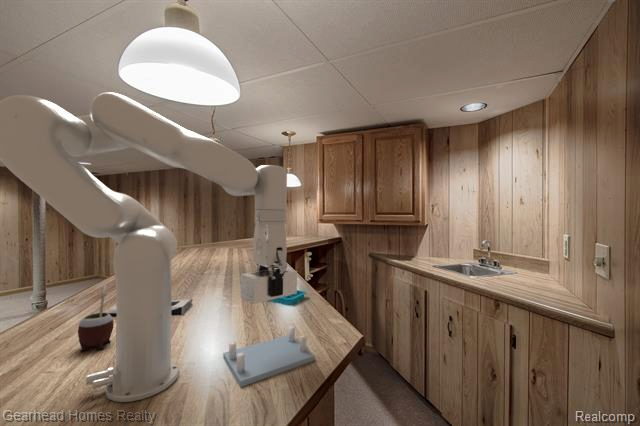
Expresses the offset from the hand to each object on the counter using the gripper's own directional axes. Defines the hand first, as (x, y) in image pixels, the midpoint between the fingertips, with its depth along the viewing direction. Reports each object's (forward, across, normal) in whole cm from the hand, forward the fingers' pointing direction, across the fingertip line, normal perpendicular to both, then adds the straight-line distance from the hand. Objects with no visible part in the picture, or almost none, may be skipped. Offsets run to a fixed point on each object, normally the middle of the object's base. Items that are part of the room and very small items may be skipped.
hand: (269, 291), depth 65 cm
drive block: (+1, 0, 0) cm, 1 cm away
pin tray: (+16, 0, 0) cm, 16 cm away
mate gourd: (+17, -30, -35) cm, 49 cm away
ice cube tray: (+17, -40, +22) cm, 49 cm away
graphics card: (+17, -51, -21) cm, 58 cm away
